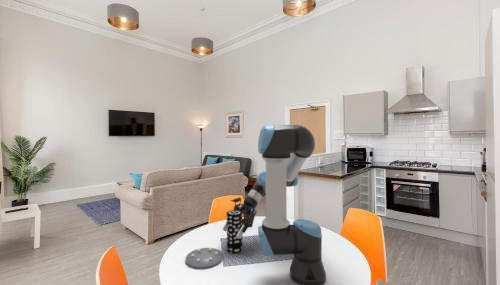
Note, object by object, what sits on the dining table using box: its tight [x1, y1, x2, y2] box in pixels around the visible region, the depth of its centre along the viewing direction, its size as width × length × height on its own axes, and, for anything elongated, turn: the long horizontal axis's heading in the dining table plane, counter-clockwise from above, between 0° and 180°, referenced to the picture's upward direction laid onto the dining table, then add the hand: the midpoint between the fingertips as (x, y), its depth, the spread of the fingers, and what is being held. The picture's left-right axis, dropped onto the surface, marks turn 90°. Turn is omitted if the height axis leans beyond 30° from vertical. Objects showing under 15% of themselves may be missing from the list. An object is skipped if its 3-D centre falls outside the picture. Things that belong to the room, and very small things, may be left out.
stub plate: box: [185, 247, 224, 270], centre depth 117 cm, size 18×18×3 cm
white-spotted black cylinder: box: [226, 209, 244, 255], centre depth 127 cm, size 8×8×20 cm
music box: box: [229, 197, 251, 226], centre depth 162 cm, size 15×11×20 cm
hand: (230, 233), depth 125 cm, fingers open, 12 cm apart
